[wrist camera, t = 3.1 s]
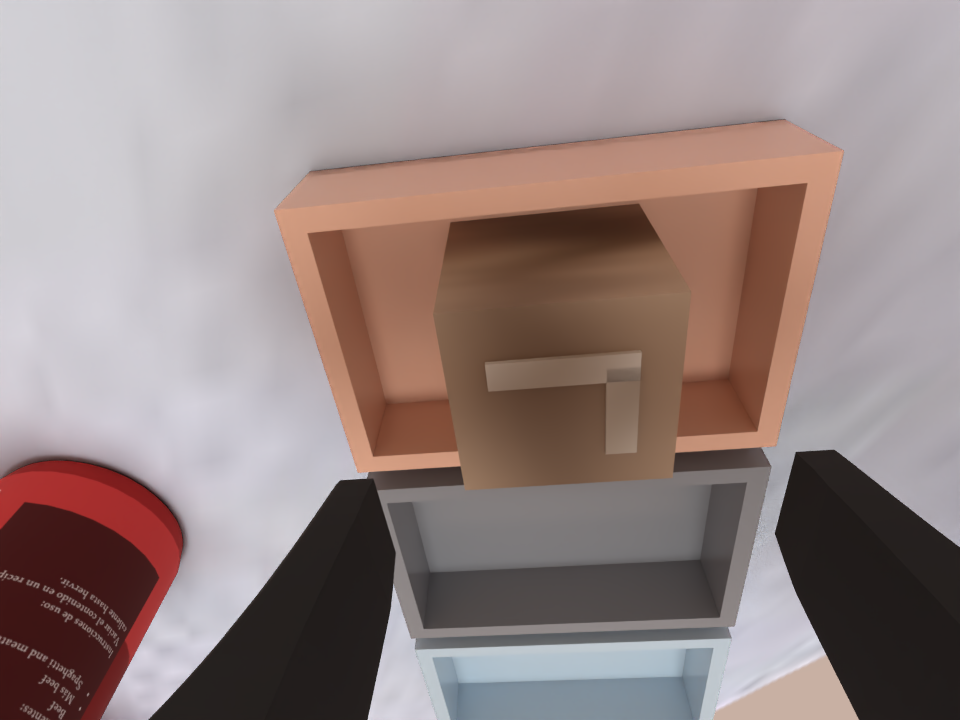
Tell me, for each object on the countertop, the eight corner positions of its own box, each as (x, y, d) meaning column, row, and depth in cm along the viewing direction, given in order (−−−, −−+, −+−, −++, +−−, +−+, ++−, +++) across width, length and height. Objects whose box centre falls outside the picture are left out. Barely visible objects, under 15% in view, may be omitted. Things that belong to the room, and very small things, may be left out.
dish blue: (708, 570, 24) (731, 638, 22) (690, 672, 29) (708, 738, 26) (422, 583, 25) (414, 649, 23) (449, 680, 30) (445, 744, 27)
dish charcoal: (736, 402, 19) (771, 466, 17) (710, 557, 24) (734, 626, 21) (380, 427, 20) (363, 491, 18) (419, 571, 25) (411, 638, 22)
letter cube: (638, 203, 15) (692, 294, 11) (632, 360, 18) (673, 480, 14) (450, 222, 16) (432, 316, 11) (472, 372, 18) (464, 493, 14)
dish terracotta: (784, 119, 14) (844, 150, 12) (739, 383, 19) (775, 446, 16) (309, 171, 15) (273, 210, 13) (375, 410, 20) (357, 472, 18)
